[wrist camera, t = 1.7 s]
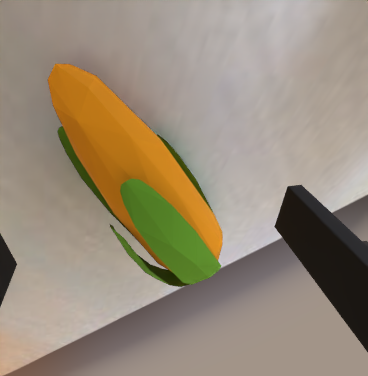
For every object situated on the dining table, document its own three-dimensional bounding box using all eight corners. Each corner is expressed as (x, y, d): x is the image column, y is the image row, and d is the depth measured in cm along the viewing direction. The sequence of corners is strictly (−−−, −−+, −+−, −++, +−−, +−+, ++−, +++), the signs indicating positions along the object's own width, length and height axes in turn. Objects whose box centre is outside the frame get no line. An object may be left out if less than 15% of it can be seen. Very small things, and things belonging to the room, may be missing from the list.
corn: (180, 325, 21) (-59, 141, 9) (161, 257, 27) (4, 92, 15) (256, 283, 21) (115, 33, 9) (220, 223, 27) (108, 26, 15)
